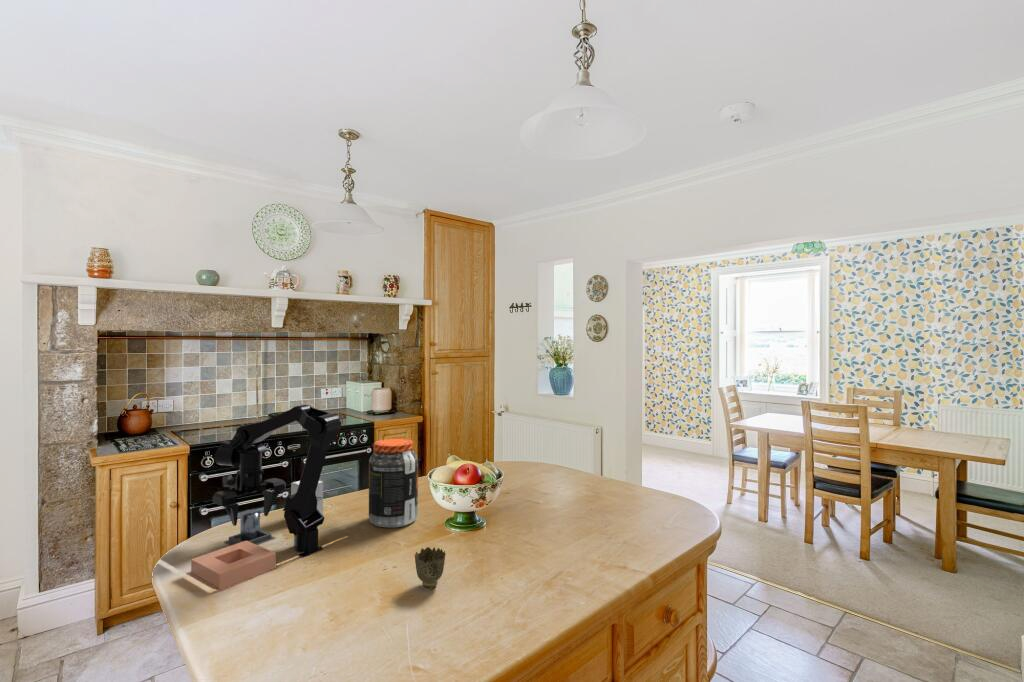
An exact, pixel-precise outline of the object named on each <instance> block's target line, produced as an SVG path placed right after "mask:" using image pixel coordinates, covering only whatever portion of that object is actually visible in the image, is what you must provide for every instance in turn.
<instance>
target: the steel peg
mask: <svg viewBox="0 0 1024 682" xmlns="http://www.w3.org/2000/svg"><path fill="white" fill-rule="evenodd" d="M260 518H261V511H260V509H246V510H244V511H242V512H241V513H240V524H239V525H240V526H239V527H240V530H239V531H240V533H239V534H240V540H241V541H246V540H247V541H250V540H253V539H256V538H259V537H260V530H261V519H260Z"/></svg>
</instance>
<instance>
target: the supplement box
mask: <svg viewBox="0 0 1024 682" xmlns="http://www.w3.org/2000/svg"><path fill="white" fill-rule="evenodd" d="M299 483H300V480H298V481H293V482H291V484H290V487H291V488H290V496H291V495H293V494H295V493H296V492H297V490H298V487H299ZM315 494H316V498H317V509H318V510H319V511H320V512H321V514H322V515H323V516H324V481H323V480H319V482H318V485H317V489H316V493H315ZM305 522H307V521H305ZM305 522H303V523H305Z"/></svg>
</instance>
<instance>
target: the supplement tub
mask: <svg viewBox="0 0 1024 682" xmlns="http://www.w3.org/2000/svg"><path fill="white" fill-rule="evenodd" d="M413 444H414V441H413V440H412V439H408V438H396V437H395V438H385V439H380V440H376V441H375V442H374V446H373V450H374V451H373V453H372V454H371V456H370V457H369V460H368V518H369V522H370V523H371V524H372V525H373V526H376V527H378V528H379V527H380V528H399V527H404V526H407V525H410V524H411V523H413V522H415V520H416V519H417V518H418V514H419V513H418V511H419V510H418V509H419V507H418V506H419V505H418V504H419V498H418V495H419V459H418V458H419V457H418V455H417V453H416V452H415V450H413V449H414V445H413Z"/></svg>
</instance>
